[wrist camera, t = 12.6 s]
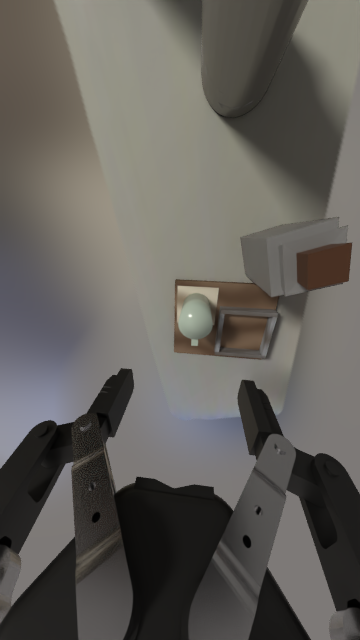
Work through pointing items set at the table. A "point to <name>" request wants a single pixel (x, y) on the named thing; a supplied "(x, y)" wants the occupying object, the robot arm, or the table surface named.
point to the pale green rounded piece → (195, 317)
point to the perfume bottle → (298, 257)
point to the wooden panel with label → (229, 319)
